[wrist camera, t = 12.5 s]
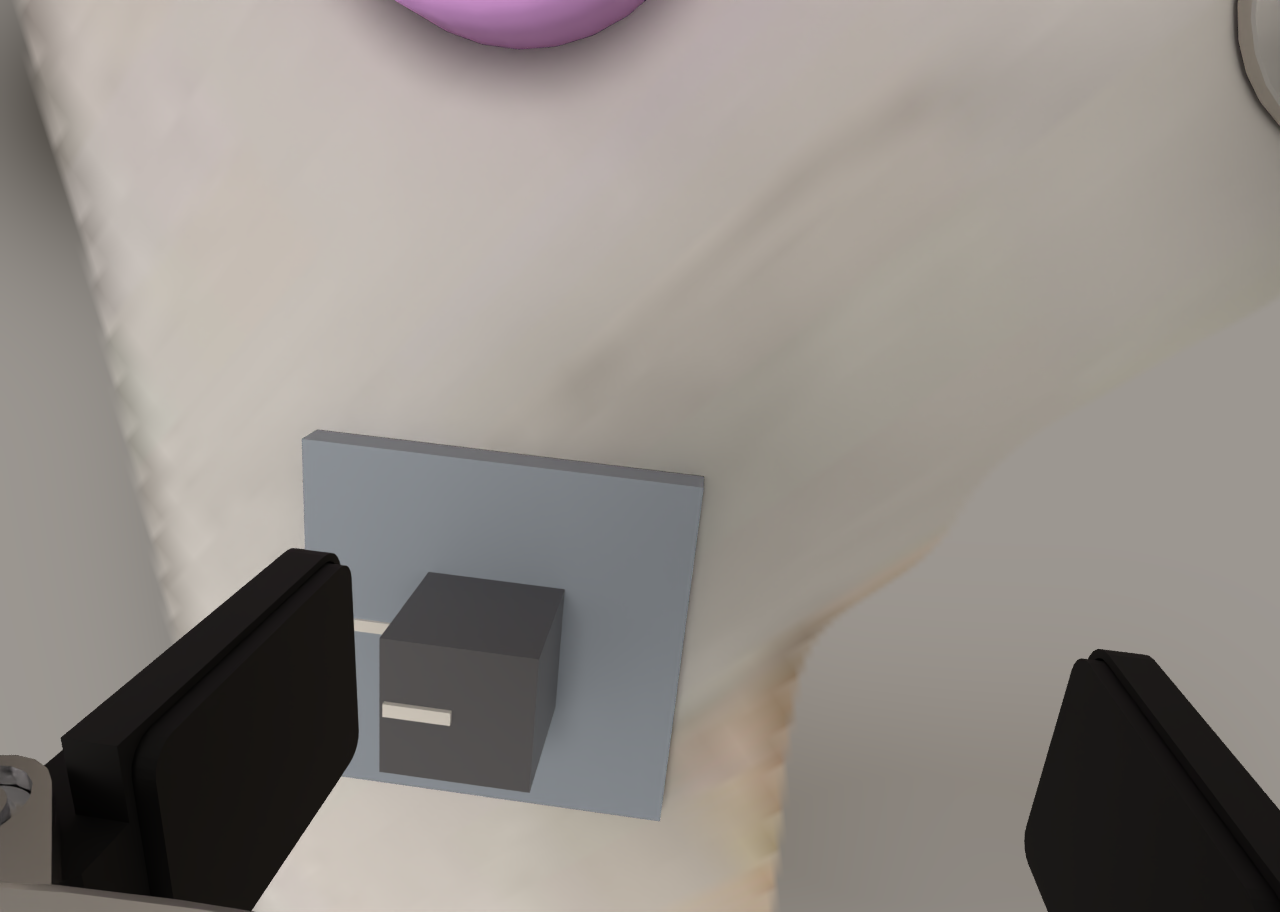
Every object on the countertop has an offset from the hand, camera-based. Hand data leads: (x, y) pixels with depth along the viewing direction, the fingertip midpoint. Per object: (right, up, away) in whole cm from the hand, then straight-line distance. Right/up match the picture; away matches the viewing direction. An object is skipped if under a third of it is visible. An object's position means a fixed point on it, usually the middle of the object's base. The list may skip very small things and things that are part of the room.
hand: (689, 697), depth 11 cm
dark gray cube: (-8, -6, +29) cm, 30 cm away
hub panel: (-8, -5, +30) cm, 31 cm away
